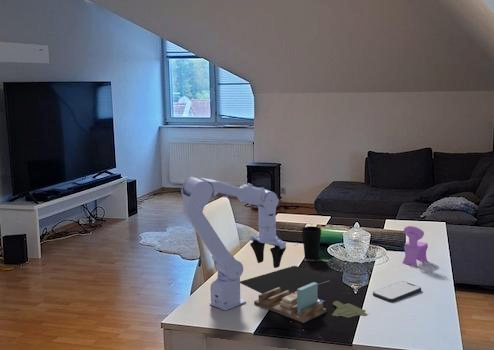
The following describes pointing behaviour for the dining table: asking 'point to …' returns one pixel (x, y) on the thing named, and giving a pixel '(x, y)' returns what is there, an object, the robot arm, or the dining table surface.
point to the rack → (273, 303)
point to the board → (307, 296)
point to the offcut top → (290, 299)
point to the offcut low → (287, 304)
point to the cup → (311, 242)
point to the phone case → (397, 291)
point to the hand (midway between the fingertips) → (268, 264)
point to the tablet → (284, 280)
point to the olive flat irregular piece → (347, 310)
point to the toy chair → (414, 246)
